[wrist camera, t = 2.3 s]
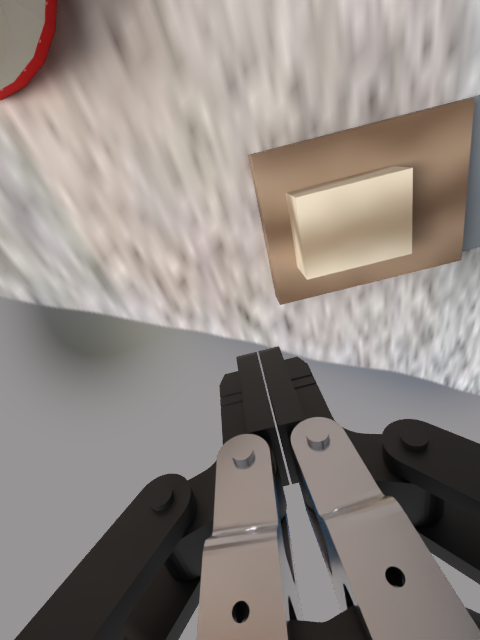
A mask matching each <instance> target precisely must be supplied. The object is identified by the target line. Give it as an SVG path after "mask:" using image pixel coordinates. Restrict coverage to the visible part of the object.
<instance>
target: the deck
mask: <svg viewBox="0 0 480 640" xmlns="http://www.w3.org/2000/svg"><path fill="white" fill-rule="evenodd" d="M474 100H475V98H472V99H466V100H461V101H456V102H452V103H448V104H444V105H440V106H436V107H432V108H429V109H425V110H421V111H417V112H413V113H409V114H405V115H401V116H398V117H394V118H390V119H386V120H382V121H378V122H374V123H371V124H367V125H363V126H359V127H355V128H351V129H347V130H343V131H340V132H336V133H332V134H328V135H324V136H320V137H316V138H313V139H309V140H305V141H301V142H297V143H293V144H289V145H285V146H282V147H278V148H274V149H270V150H266V151H262V152H258V153H254V154H251V155H248V156H249V161H250V166H251V171H252V176H253V182H254V187H255V192H256V197H257V202H258V207H259V212H260V217H261V222H262V228H263V233H264V238H265V243H266V248H267V253H268V258H269V263H270V269H271V274H272V279H273V284H274V289H275V294H276V297H277V299H278V302H279V304H280V305H282V304H286V303H290V302H294V301H298V300H302V299H306V298H310V297H314V296H318V295H322V294H326V293H330V292H334V291H338V290H342V289H346V288H350V287H354V286H358V285H362V284H366V283H371V282H375V281H379V280H383V279H387V278H391V277H395V276H399V275H403V274H407V273H411V272H415V271H419V270H423V269H427V268H431V267H435V266H439V265H443V264H447V263H451V262H455V261H460V260H461V257H462V245H463V233H464V221H465V209H466V197H467V185H468V173H469V161H470V149H471V136H472V124H473V112H474ZM387 166H400V167H410V168H413V203H412V254H409V255H405V256H401V257H397V258H393V259H389V260H385V261H381V262H377V263H373V264H369V265H365V266H361V267H356V268H352V269H348V270H344V271H340V272H336V273H332V274H328V275H324V276H320V277H316V278H312V279H308V280H307V279H306V278H305V276H304V275H303V274H302V272H301V271H300V270H299V269H298V267H297V261H296V255H295V248H294V242H293V235H292V229H291V222H290V216H289V210H288V203H287V197H286V192H289V191H293V190H297V189H301V188H305V187H309V186H313V185H317V184H321V183H325V182H329V181H333V180H337V179H340V178H344V177H348V176H352V175H356V174H360V173H364V172H368V171H372V170H376V169H380V168H384V167H387Z"/></svg>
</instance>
